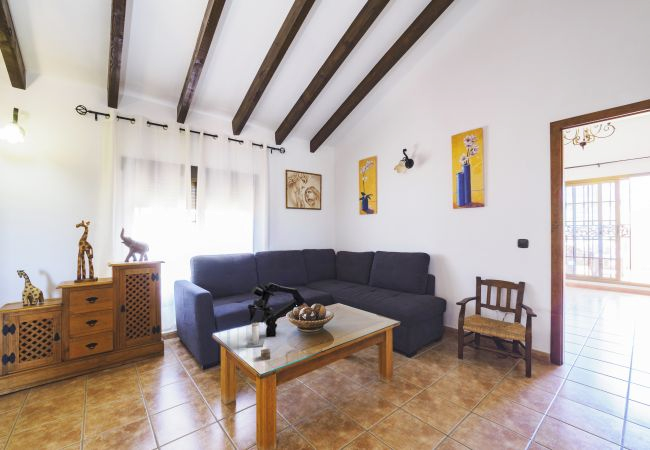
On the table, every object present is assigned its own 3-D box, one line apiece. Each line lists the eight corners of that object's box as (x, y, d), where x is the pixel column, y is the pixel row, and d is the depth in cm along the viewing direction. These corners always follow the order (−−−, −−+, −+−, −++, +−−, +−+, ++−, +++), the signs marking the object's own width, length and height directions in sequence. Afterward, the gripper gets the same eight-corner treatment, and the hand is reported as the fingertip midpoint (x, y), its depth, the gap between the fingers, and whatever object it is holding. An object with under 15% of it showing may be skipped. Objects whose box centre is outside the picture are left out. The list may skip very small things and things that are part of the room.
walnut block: (269, 355, 165) (269, 348, 165) (270, 359, 161) (270, 352, 161) (261, 356, 164) (260, 349, 164) (261, 360, 159) (261, 353, 159)
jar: (259, 341, 183) (259, 322, 183) (258, 344, 178) (258, 324, 178) (252, 341, 183) (252, 322, 183) (251, 344, 178) (251, 324, 178)
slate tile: (264, 340, 187) (264, 339, 187) (262, 346, 177) (262, 345, 177) (249, 341, 186) (249, 339, 186) (247, 347, 176) (246, 346, 176)
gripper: (248, 293, 191) (238, 315, 182) (270, 296, 183) (261, 319, 175) (255, 299, 199) (246, 321, 190) (277, 303, 192) (269, 325, 183)
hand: (255, 321), depth 184 cm, fingers open, 9 cm apart
